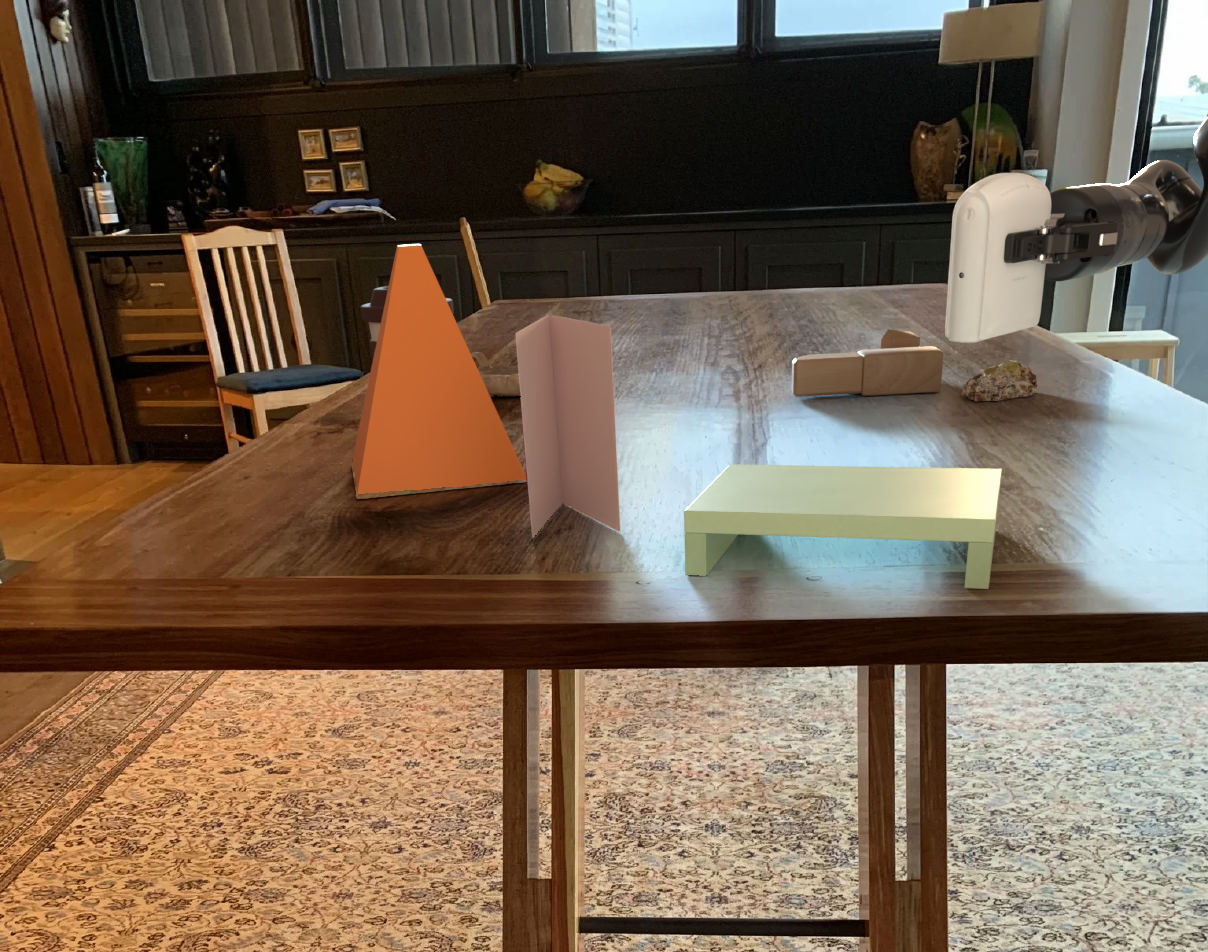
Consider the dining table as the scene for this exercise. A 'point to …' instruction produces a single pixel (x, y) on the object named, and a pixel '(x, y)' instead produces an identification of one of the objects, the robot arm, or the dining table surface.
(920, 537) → the shelf
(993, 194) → the photo printer
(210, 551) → the dining table surface
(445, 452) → the pyramid
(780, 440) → the dining table surface
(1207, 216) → the robot arm
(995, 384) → the mineral rock
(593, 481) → the greeting card
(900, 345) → the wooden block set
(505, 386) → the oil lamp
